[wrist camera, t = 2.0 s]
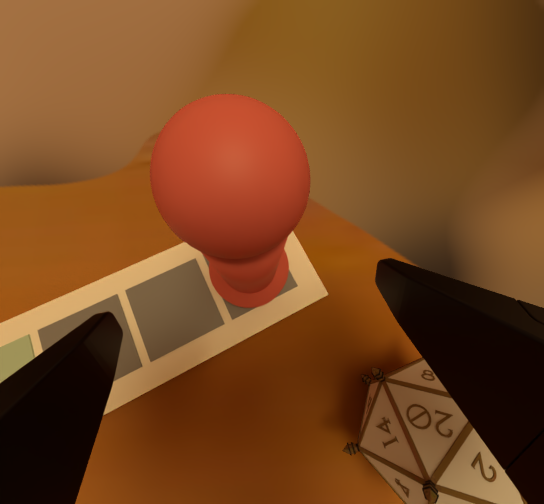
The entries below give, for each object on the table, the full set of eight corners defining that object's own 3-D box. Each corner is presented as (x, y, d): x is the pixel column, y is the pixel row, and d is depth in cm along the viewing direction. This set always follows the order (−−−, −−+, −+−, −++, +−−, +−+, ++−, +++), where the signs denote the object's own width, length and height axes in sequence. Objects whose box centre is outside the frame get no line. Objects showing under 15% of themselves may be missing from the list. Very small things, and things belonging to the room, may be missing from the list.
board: (275, 206, 21) (276, 201, 20) (325, 295, 19) (328, 294, 18) (-78, 363, 16) (-97, 365, 15) (-59, 501, 14) (-80, 513, 13)
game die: (352, 409, 20) (299, 499, 12) (385, 316, 19) (352, 343, 11) (487, 498, 15) (553, 753, 7) (537, 378, 15) (674, 507, 6)
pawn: (280, 314, 17) (353, 293, 4) (204, 300, 17) (14, 231, 4) (291, 242, 19) (372, 49, 5) (222, 229, 19) (130, 5, 5)
